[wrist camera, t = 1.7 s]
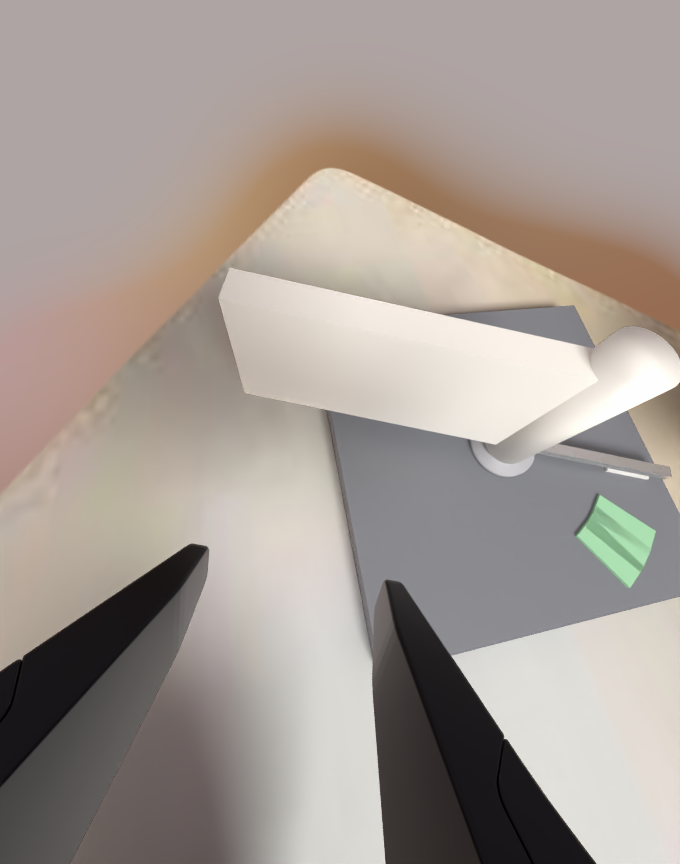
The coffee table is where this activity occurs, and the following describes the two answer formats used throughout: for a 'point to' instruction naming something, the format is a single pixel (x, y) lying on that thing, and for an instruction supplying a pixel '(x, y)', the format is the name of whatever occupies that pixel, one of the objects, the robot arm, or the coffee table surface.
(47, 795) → the robot arm
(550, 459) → the grey flat panel
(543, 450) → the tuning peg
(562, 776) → the coffee table surface
